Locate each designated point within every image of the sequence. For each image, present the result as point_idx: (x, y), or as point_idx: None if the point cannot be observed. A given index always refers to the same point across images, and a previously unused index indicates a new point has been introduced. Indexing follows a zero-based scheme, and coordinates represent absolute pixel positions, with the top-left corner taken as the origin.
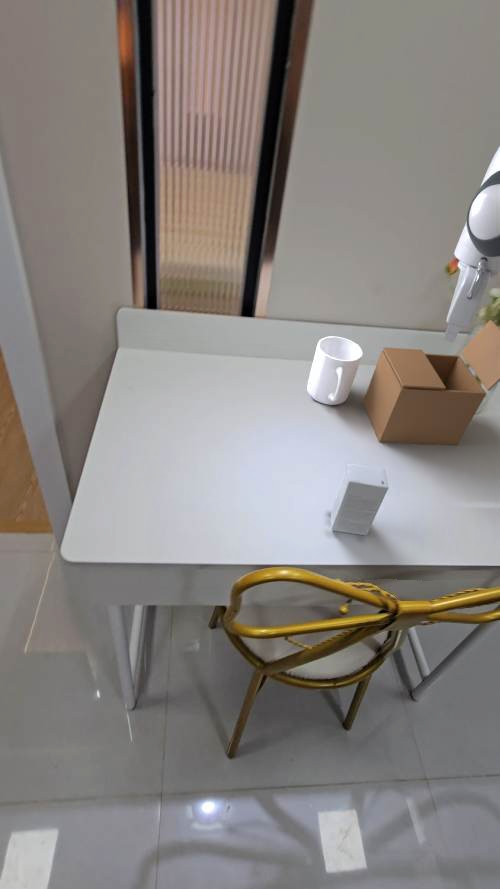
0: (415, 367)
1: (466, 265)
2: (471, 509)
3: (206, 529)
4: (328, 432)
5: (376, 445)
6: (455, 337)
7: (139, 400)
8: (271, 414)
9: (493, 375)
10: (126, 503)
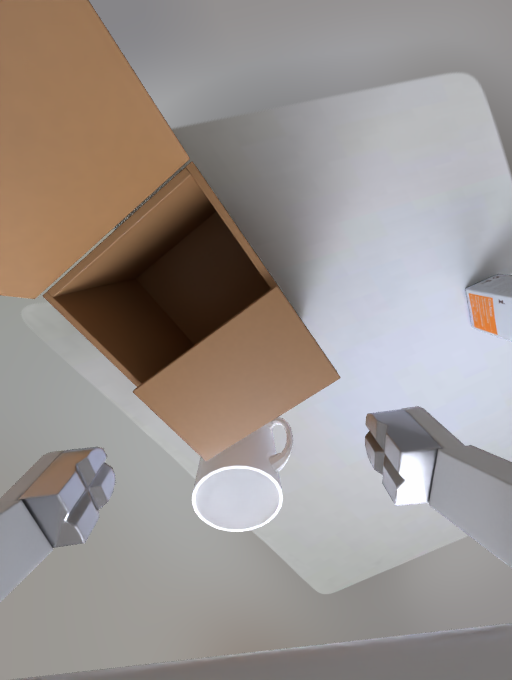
0: (237, 379)
1: None
2: (374, 134)
3: None
4: (324, 389)
5: (310, 325)
6: (440, 425)
7: (391, 548)
8: (333, 455)
9: (140, 147)
10: None
